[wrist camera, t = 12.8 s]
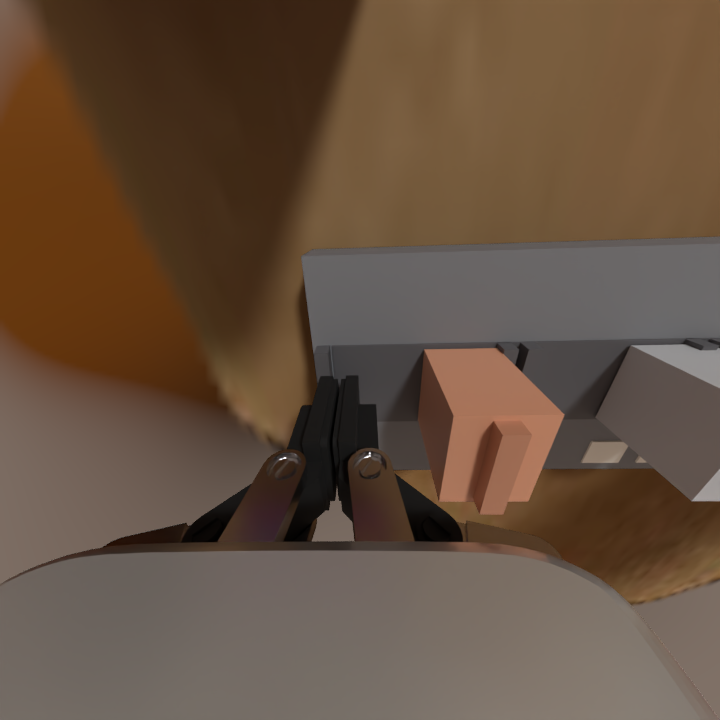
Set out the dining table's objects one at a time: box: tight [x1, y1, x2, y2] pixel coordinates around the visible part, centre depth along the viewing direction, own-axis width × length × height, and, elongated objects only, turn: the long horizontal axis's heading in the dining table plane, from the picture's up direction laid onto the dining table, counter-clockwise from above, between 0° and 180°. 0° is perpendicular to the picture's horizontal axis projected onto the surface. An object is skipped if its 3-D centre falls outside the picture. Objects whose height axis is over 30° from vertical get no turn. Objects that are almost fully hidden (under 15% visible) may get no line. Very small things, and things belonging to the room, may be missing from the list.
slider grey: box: [595, 344, 720, 501], centre depth 10 cm, size 3×4×5 cm
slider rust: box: [418, 348, 564, 514], centre depth 10 cm, size 3×4×5 cm
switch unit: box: [301, 237, 720, 470], centre depth 14 cm, size 26×12×3 cm, turn 92°
